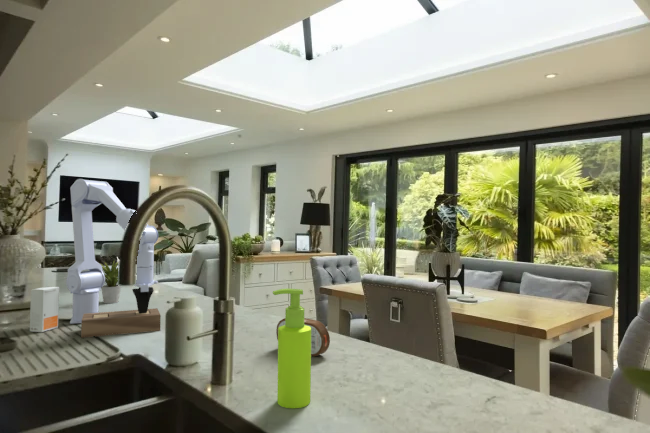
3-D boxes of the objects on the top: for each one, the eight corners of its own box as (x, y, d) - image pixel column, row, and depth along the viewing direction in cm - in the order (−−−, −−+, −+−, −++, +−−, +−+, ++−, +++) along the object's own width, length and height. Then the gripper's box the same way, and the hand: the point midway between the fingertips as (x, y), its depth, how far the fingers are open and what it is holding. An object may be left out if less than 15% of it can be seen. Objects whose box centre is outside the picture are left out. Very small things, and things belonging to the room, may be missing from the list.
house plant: (95, 298, 176) (96, 257, 176) (133, 297, 179) (133, 257, 179) (85, 305, 162) (85, 261, 162) (125, 304, 165) (126, 260, 165)
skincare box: (42, 332, 123) (42, 289, 124) (29, 331, 124) (29, 289, 124) (59, 327, 129) (59, 286, 130) (46, 326, 130) (47, 286, 130)
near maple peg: (93, 329, 126) (93, 315, 126) (107, 327, 128) (107, 314, 128) (93, 332, 123) (93, 317, 123) (107, 330, 124) (107, 316, 124)
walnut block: (83, 329, 128) (83, 313, 128) (157, 322, 136) (157, 308, 136) (81, 337, 119) (81, 321, 119) (160, 330, 127) (160, 314, 127)
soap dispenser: (272, 395, 81) (273, 286, 81) (309, 394, 82) (310, 286, 82) (270, 409, 75) (272, 292, 76) (311, 408, 76) (312, 292, 76)
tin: (330, 357, 105) (330, 321, 105) (322, 360, 102) (323, 324, 102) (282, 346, 113) (282, 313, 113) (274, 348, 111) (274, 315, 111)
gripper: (160, 268, 125) (159, 316, 125) (155, 263, 138) (154, 307, 138) (133, 269, 122) (132, 318, 122) (130, 264, 135) (130, 309, 135)
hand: (142, 312), depth 130 cm, fingers closed, pressing on far maple peg
